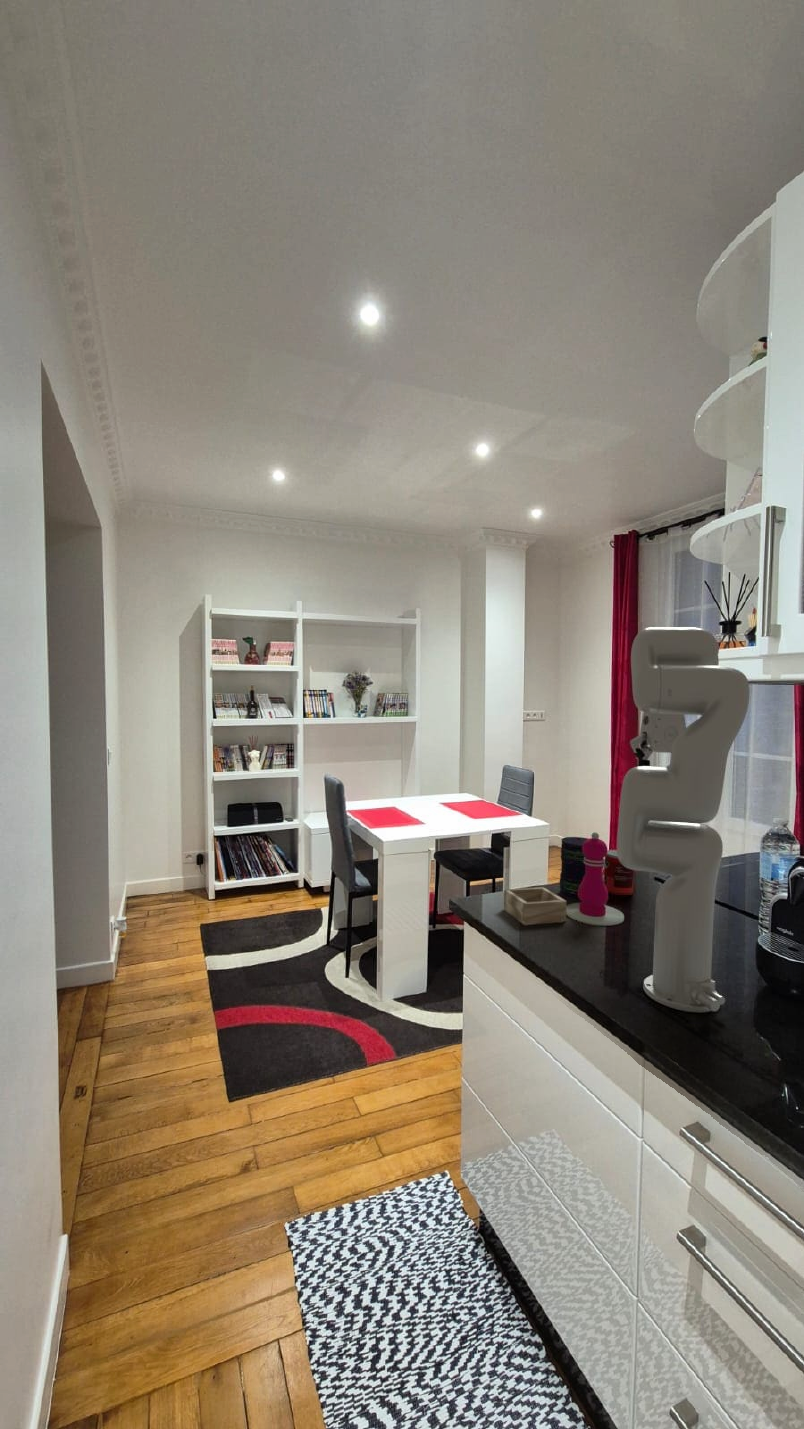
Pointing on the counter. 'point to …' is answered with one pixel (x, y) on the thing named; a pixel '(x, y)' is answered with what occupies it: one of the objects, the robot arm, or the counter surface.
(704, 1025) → the counter surface
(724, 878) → the counter surface
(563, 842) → the storage jar
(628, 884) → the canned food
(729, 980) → the counter surface
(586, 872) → the pepper mill
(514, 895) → the box
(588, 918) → the coaster
